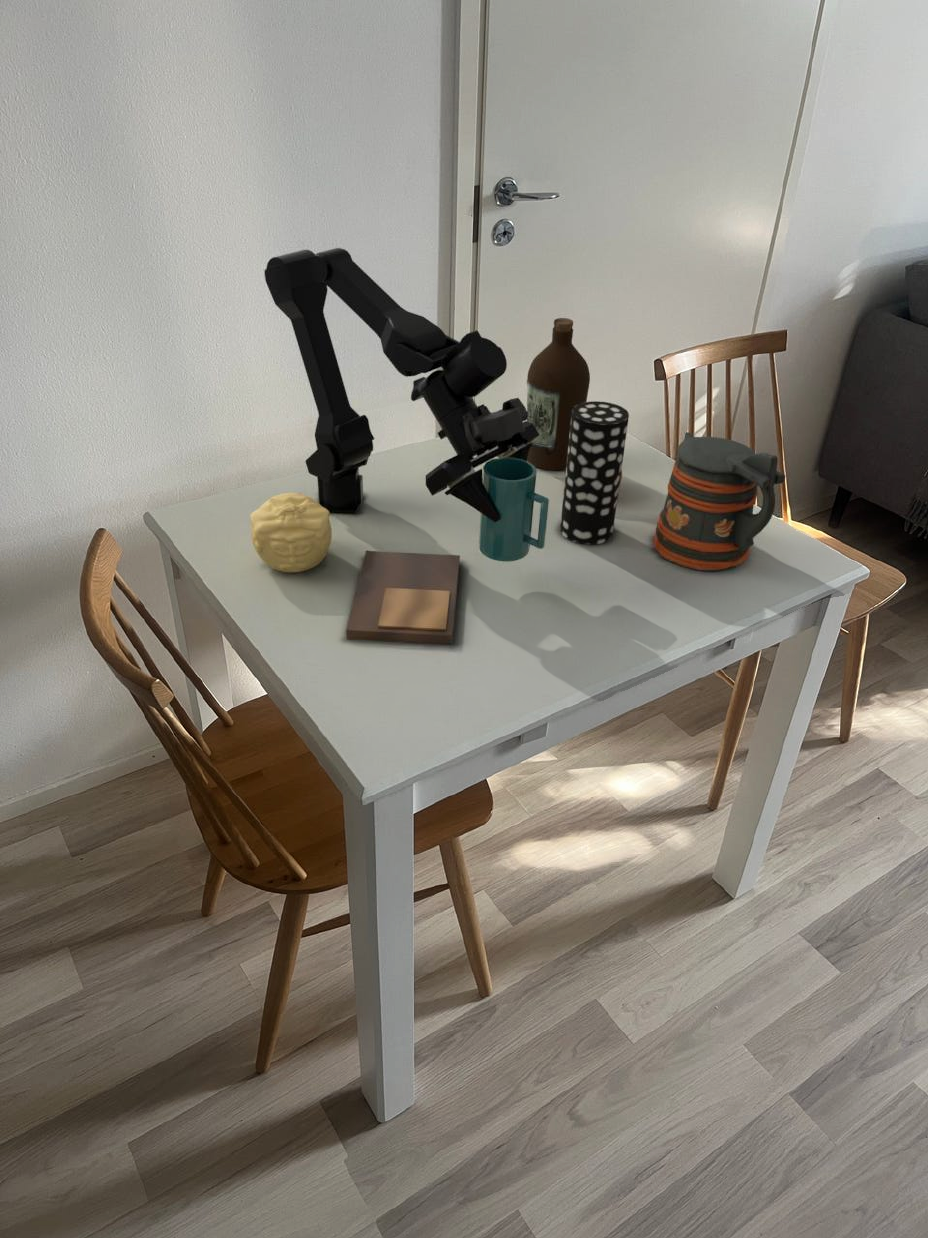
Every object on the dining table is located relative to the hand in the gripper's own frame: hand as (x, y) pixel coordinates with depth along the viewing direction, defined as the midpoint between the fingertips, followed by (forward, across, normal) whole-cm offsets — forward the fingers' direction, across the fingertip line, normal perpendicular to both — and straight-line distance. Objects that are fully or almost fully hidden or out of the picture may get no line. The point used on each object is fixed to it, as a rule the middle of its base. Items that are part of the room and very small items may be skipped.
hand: (514, 510), depth 132 cm
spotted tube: (+8, +20, +9) cm, 24 cm away
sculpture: (-10, -17, +28) cm, 35 cm away
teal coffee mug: (+5, 0, +5) cm, 7 cm away
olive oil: (-5, +37, +23) cm, 44 cm away
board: (+3, -13, +15) cm, 20 cm away
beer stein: (+21, +28, -4) cm, 35 cm away
